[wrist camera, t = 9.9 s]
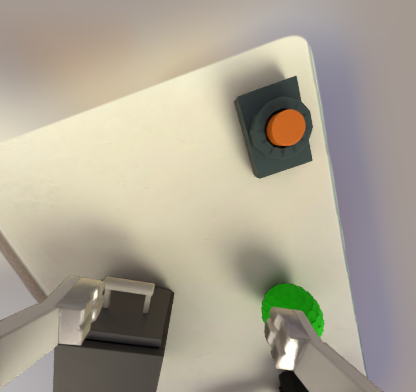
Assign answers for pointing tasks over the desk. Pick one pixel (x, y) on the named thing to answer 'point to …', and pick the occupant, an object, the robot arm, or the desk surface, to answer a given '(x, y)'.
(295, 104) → the control block
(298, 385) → the audio adapter
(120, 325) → the drawer
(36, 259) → the desk surface
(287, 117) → the button
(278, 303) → the ornament
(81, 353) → the small drawer cabinet
